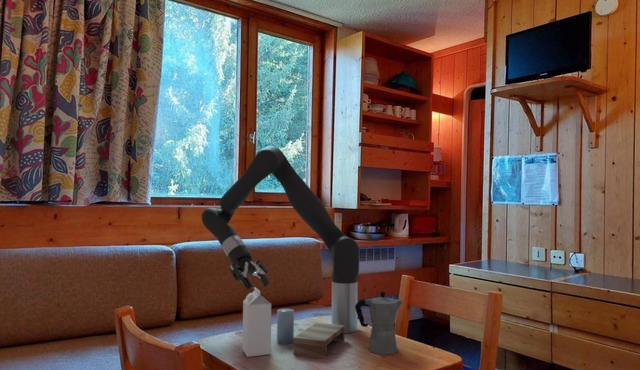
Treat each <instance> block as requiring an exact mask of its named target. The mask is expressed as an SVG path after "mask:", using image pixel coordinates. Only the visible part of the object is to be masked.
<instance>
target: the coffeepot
mask: <svg viewBox="0 0 640 370" xmlns="http://www.w3.org/2000/svg"><path fill="white" fill-rule="evenodd" d="M385 296H386V291H384V290H382V291H381V290H380V296H379V297H374V298H369V299H359V300H357V304H356V305H355V309H356V312H357V319H358V320H359V323H360V326H361V327H364V328H365V327H366V328H367V327H369V323H365V318H364V315H363V310H362V307H363V306H364V307H368V311H369V315H370V322H371V327H372V328H371V332H370V337H369V344H368V351H369V352H370V353H373V354H375V355H393V354H396V353H397V352H398V346H397V345H398V344H397V339H396V332H395V321H396V315H397V312H398V310H399V309H400V307H401V305H402V304H404V302H403V300H400V299H394V298H389V297H385Z"/></svg>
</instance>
